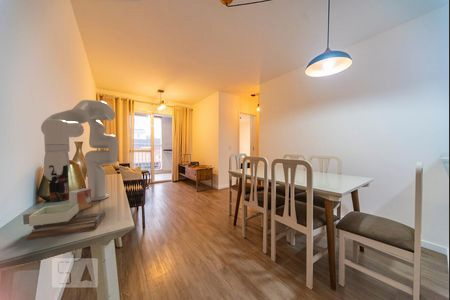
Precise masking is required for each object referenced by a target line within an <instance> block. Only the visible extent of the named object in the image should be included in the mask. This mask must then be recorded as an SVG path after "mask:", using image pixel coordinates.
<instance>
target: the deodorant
mask: <svg viewBox="0 0 450 300" xmlns="http://www.w3.org/2000/svg"><path fill="white" fill-rule="evenodd" d="M53 175H56V174H53ZM55 179H56V177H55ZM59 182H60V192H53V193H50V192H49V202H50V203H60V202H64V201H67V200H68V201H69V192H70V187H69V172H68V165H66V166H63V172H62V175H60V176H59Z"/></svg>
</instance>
